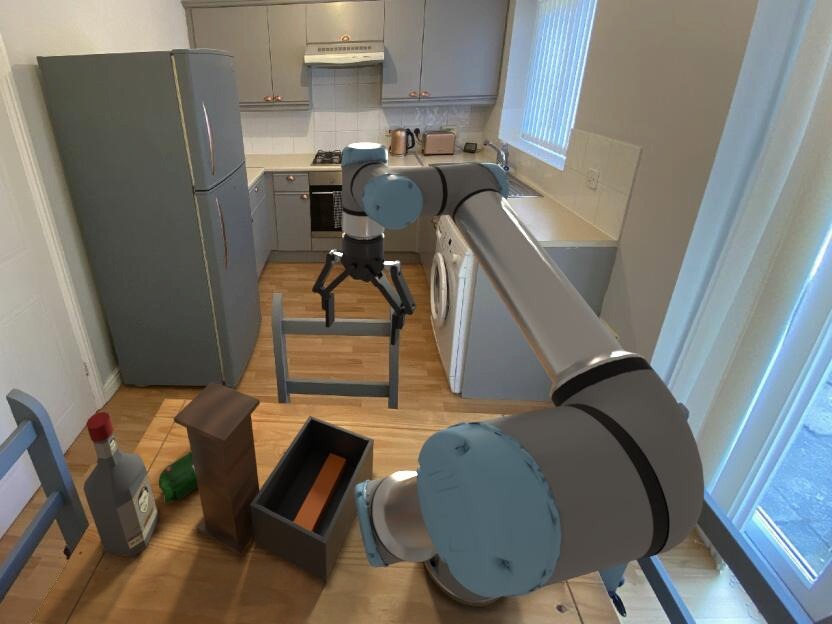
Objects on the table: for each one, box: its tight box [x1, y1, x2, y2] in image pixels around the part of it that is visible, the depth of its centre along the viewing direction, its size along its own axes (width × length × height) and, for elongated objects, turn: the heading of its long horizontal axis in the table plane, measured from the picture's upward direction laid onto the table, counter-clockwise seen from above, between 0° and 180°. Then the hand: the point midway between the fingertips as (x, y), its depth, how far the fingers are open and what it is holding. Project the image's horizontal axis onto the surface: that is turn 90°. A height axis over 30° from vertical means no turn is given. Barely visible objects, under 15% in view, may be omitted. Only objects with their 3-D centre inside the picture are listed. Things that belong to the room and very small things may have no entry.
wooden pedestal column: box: [173, 381, 261, 558], centre depth 80 cm, size 11×10×30 cm
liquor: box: [83, 411, 160, 558], centre depth 78 cm, size 9×9×30 cm
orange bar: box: [294, 453, 346, 533], centre depth 87 cm, size 4×20×2 cm, turn 154°
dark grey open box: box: [250, 415, 375, 583], centre depth 86 cm, size 16×24×11 cm, turn 153°
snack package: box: [158, 451, 198, 504], centre depth 94 cm, size 7×16×5 cm, turn 131°
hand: (361, 332), depth 83 cm, fingers open, 13 cm apart
